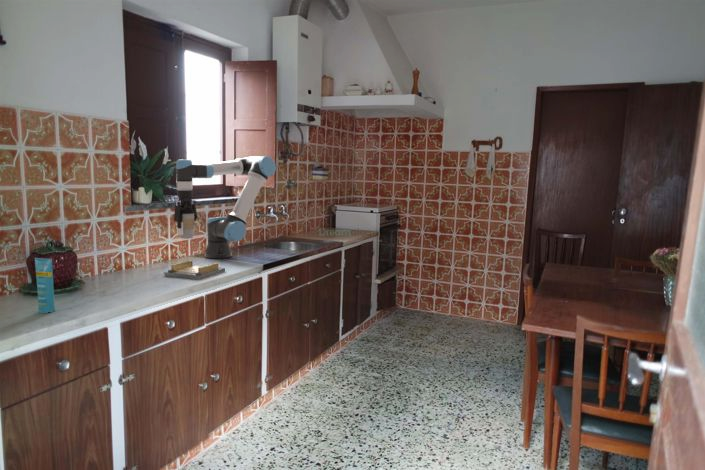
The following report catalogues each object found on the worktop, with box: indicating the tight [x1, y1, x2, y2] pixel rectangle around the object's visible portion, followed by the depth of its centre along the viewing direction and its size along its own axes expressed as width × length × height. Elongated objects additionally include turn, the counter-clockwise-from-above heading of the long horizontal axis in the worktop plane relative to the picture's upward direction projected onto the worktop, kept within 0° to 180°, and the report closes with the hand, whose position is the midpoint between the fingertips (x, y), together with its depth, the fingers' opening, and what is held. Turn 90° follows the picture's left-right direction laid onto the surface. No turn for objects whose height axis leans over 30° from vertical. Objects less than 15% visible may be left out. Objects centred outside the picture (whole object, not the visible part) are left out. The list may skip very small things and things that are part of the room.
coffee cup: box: [179, 209, 195, 240], centre depth 252 cm, size 9×9×15 cm
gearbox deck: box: [163, 259, 226, 281], centre depth 235 cm, size 20×20×5 cm
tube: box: [34, 257, 56, 314], centre depth 170 cm, size 7×5×19 cm, turn 81°
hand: (186, 233), depth 253 cm, fingers closed on coffee cup, 8 cm apart
